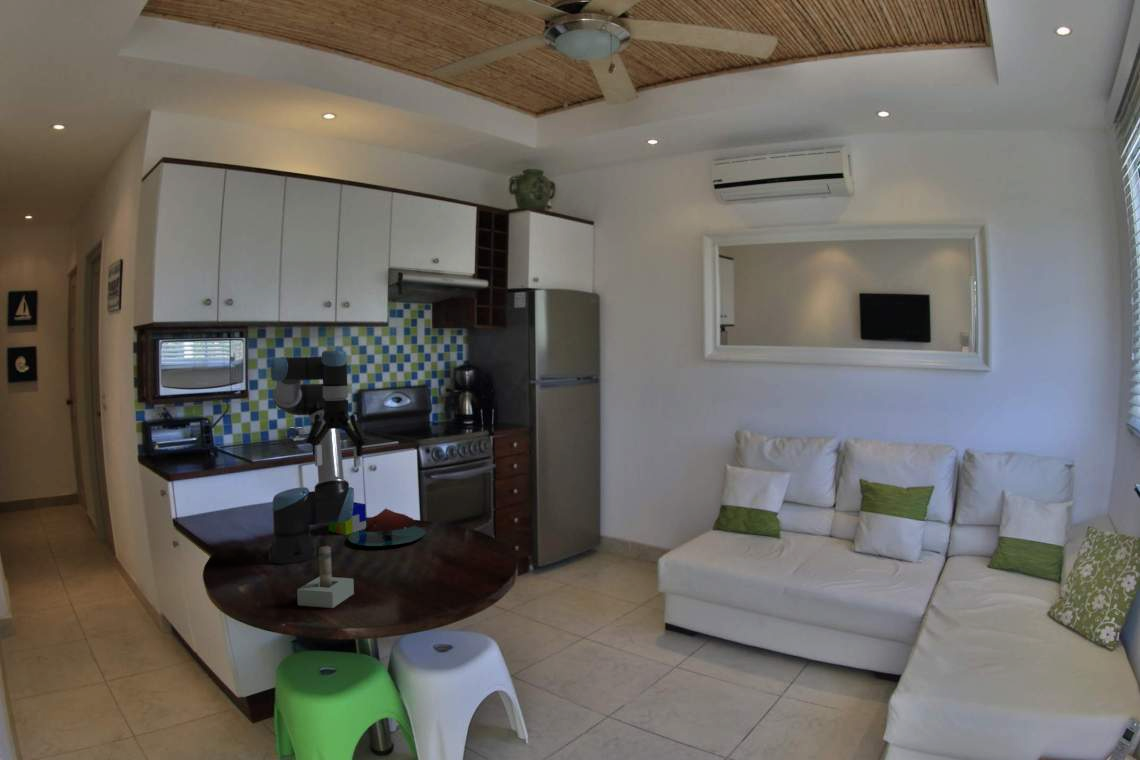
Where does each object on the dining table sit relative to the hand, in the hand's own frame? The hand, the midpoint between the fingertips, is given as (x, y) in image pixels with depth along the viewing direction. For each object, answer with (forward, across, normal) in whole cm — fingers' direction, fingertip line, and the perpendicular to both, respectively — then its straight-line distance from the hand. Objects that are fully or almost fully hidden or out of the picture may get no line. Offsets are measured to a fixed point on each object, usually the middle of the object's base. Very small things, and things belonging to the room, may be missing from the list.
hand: (337, 466), depth 215 cm
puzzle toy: (+35, +26, -47) cm, 64 cm away
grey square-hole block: (+35, -8, +21) cm, 41 cm away
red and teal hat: (+35, +4, -38) cm, 52 cm away
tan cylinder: (+35, -8, +21) cm, 41 cm away
